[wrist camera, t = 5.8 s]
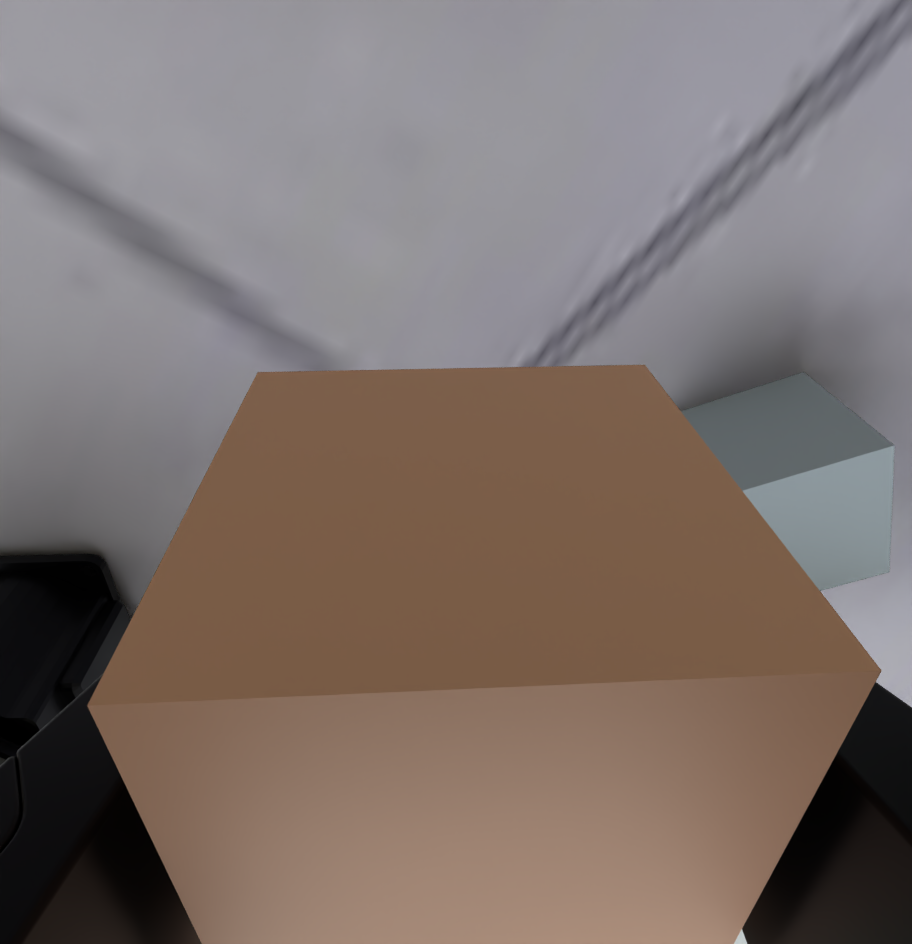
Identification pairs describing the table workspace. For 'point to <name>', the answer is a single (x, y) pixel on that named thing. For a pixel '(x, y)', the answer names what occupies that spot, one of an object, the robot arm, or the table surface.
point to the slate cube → (808, 474)
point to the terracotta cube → (474, 669)
